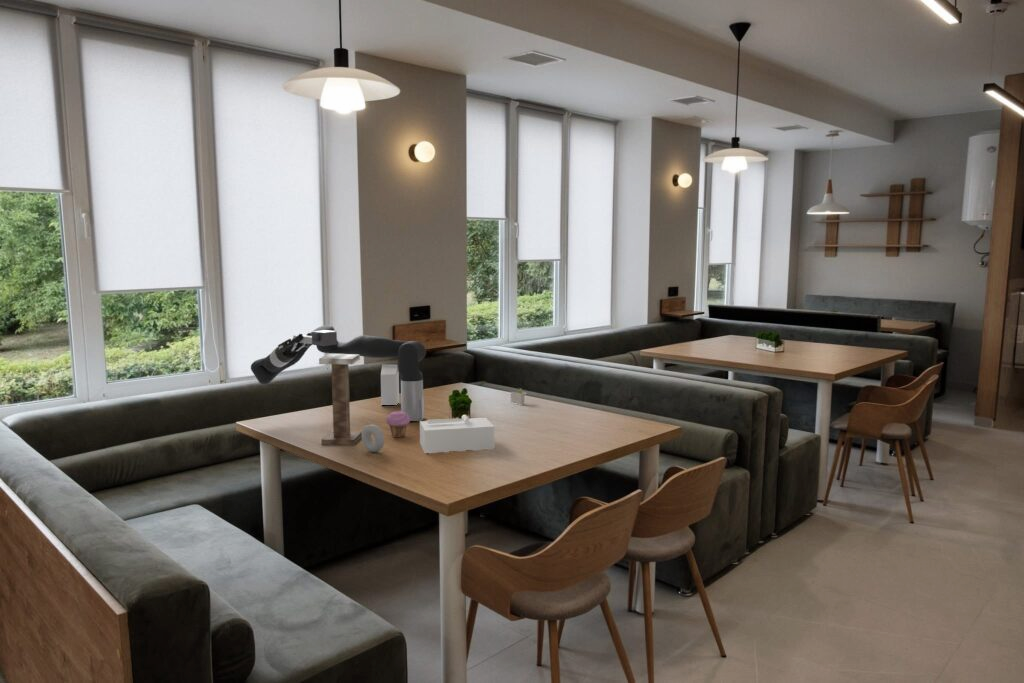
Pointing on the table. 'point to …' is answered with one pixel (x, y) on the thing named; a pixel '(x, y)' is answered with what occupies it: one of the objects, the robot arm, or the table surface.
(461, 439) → the tissue box
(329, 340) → the grey block with knob
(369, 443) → the donut
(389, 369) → the milk carton
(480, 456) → the table surface
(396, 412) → the cupcake
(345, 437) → the stand
